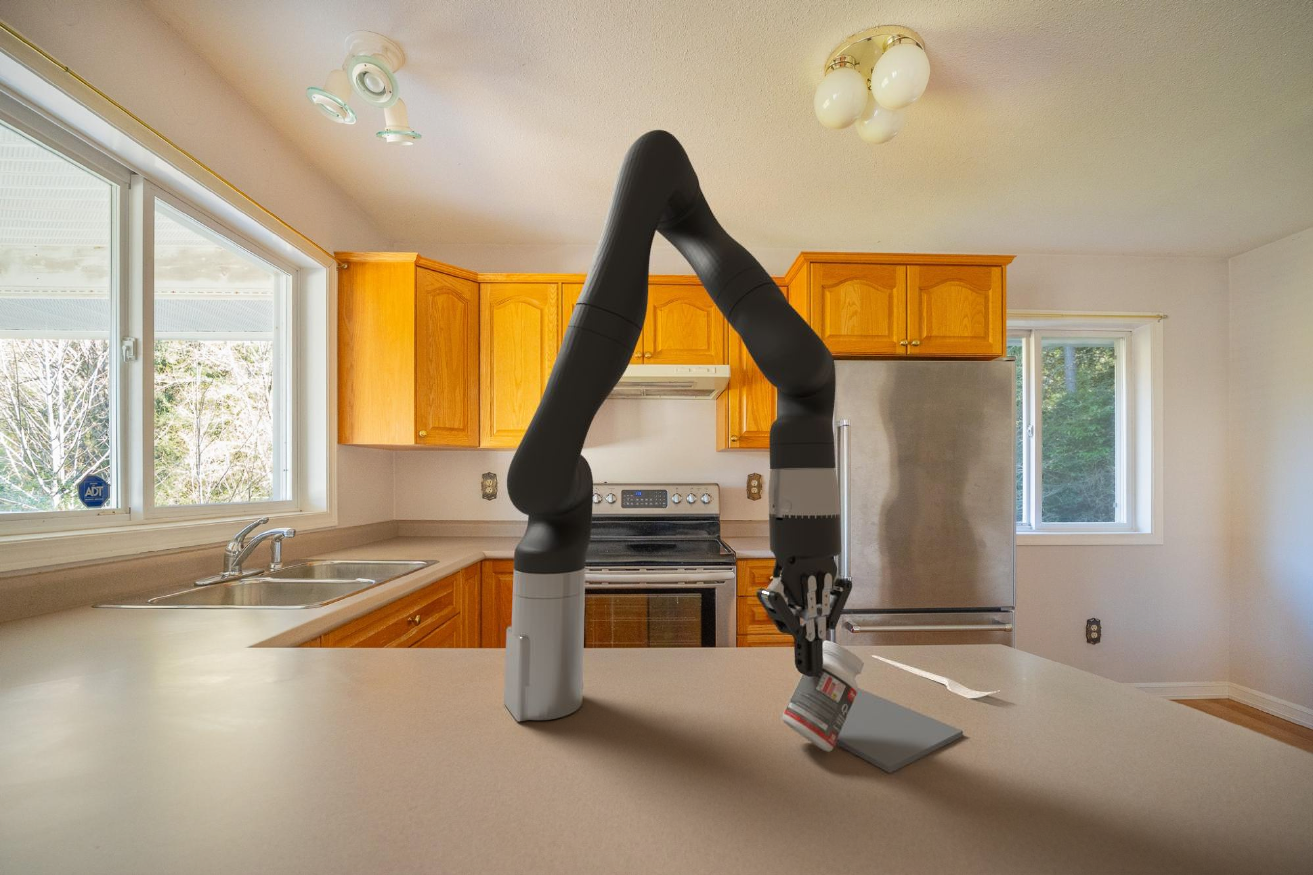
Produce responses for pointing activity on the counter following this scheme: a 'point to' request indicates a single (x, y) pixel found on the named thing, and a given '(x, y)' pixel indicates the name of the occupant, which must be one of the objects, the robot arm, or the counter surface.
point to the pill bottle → (825, 697)
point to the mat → (891, 732)
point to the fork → (940, 680)
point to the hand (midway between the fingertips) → (809, 673)
